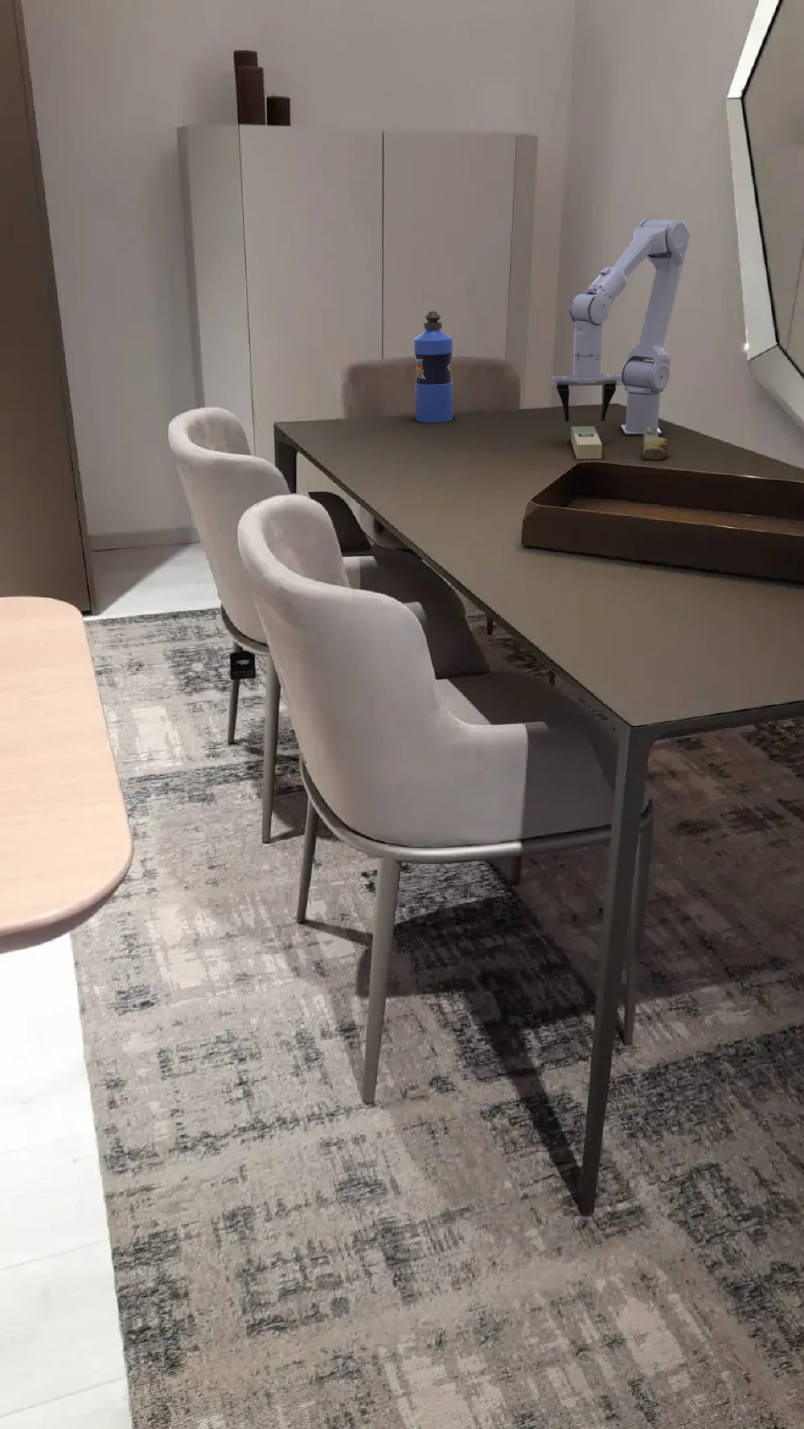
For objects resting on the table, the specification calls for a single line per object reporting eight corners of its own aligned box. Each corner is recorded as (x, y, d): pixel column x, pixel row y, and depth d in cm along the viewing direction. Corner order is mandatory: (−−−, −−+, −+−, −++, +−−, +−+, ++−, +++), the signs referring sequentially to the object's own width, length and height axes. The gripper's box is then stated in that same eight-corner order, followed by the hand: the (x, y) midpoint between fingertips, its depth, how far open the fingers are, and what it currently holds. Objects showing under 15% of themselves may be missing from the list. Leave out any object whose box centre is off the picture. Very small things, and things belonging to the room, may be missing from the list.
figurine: (675, 449, 222) (670, 424, 234) (651, 438, 221) (648, 413, 234) (662, 471, 225) (658, 445, 237) (638, 460, 224) (635, 435, 236)
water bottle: (420, 424, 266) (418, 314, 255) (411, 417, 274) (409, 311, 264) (457, 421, 268) (457, 312, 257) (447, 414, 276) (446, 309, 266)
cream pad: (573, 448, 236) (573, 434, 235) (596, 447, 236) (597, 433, 235) (576, 459, 226) (577, 444, 225) (601, 459, 226) (602, 444, 225)
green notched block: (570, 440, 244) (571, 426, 242) (593, 440, 243) (594, 426, 242) (574, 450, 234) (574, 436, 233) (597, 450, 234) (598, 435, 233)
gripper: (553, 358, 229) (551, 424, 235) (624, 356, 228) (620, 423, 234) (551, 353, 235) (550, 418, 241) (620, 352, 234) (617, 416, 240)
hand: (584, 420), depth 238 cm, fingers open, 7 cm apart
